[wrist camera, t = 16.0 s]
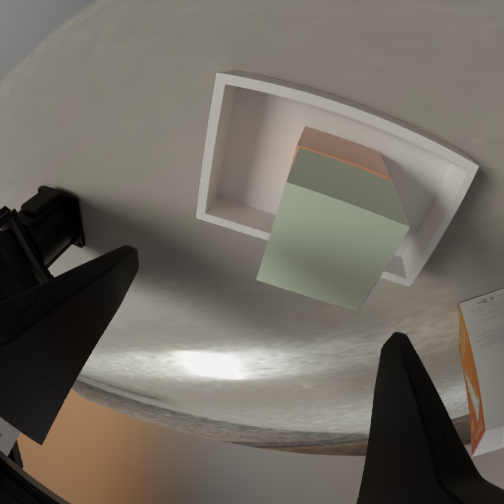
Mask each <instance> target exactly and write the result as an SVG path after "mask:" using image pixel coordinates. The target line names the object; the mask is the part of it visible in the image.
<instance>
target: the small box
mask: <svg viewBox="0 0 504 504" xmlns="http://www.w3.org/2000/svg"><path fill="white" fill-rule="evenodd" d="M459 310H460V346H459V351H460V356H461V361H462V366H463V372H464V377H465V384H466V390H467V398H468V406H469V416H470V427H471V443H472V457H473V456H477V455H481V454H484V453H487V452H491V451H494V450H497V449H500V448H503V447H504V288H503V289H500V290H497V291H494V292H491V293H489V294H486V295H482V296H479V297H476V298H474V299H471V300H468V301H465V302H461V303H459Z"/></svg>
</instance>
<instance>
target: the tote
mask: <svg viewBox="0 0 504 504" xmlns="http://www.w3.org/2000/svg"><path fill="white" fill-rule="evenodd" d="M305 126H307V127H310V128H313V129H316V130H319V131H323V132H326V133H329V134H332V135H335V136H338V137H340V138H343V139H346V140H349V141H352V142H355V143H357V144H360V145H363V146H365V147H368V148H371V149H373V150H376V151H378V152H380V154H381V157H382V159H383V161H384V163H385V166H386V168H387V170H388V173H389V175H390V177H391V179H390V181H392V182H393V184H394V187H395V189H396V192H397V194H398V197H399V199H400V202H401V204H402V207H403V210H404V212H405V215H406V218H407V221H408V223H409V226H410V228H409V230H408V231H407V233H406V235H405V237H404V238H403V240H402V242H401V244H400V245H399V247H398V249H397V251H396V252H395V254H394V256H393V257H392V259H391V261H390V262H389V264H388V266H387V267H386V269H385V270H384V272H383V274H382V275H381V278H384V279H387V280H390V281H393V282H396V283H399V284H402V285H405V286H408V287H410V286H411V285H412V283H413V282H414V280H415V279H416V277H417V276H418V274H419V273H420V271H421V270H422V268H423V267H424V265H425V264H426V262H427V260H428V259H429V257H430V256H431V254H432V253H433V251H434V249H435V248H436V246H437V244H438V243H439V241H440V239H441V238H442V236H443V234H444V233H445V231H446V229H447V228H448V226H449V224H450V222H451V220H452V219H453V217H454V215H455V213H456V211H457V210H458V208H459V206H460V204H461V202H462V200H463V198H464V196H465V194H466V192H467V190H468V188H469V186H470V184H471V182H472V180H473V178H474V176H475V174H476V172H477V170H478V168H479V166H478V165H477V164H476V163H475V162H474V161H473V160H472V159H471V158H470V157H468V156H467V155H466V154H465V153H464V152H463V151H462V150H460V149H458V148H456V147H454V146H452V145H451V144H449V143H447V142H445V141H443V140H441V139H439V138H437V137H435V136H433V135H431V134H429V133H427V132H425V131H423V130H421V129H419V128H416V127H414V126H412V125H410V124H408V123H405V122H403V121H401V120H398V119H396V118H394V117H391V116H389V115H387V114H384V113H382V112H379V111H377V110H374V109H371V108H369V107H366V106H364V105H361V104H358V103H355V102H352V101H350V100H347V99H344V98H341V97H338V96H335V95H332V94H329V93H325V92H322V91H319V90H315V89H312V88H309V87H305V86H301V85H298V84H294V83H290V82H286V81H282V80H278V79H274V78H270V77H265V76H261V75H256V74H251V73H246V72H241V71H235V70H231V71H224V72H217V75H216V81H215V86H214V92H213V98H212V104H211V110H210V116H209V123H208V129H207V136H206V143H205V150H204V157H203V164H202V172H201V180H200V188H199V197H198V205H197V214H196V218H197V219H200V220H203V221H207V222H210V223H213V224H216V225H220V226H223V227H226V228H229V229H232V230H236V231H239V232H242V233H245V234H248V235H252V236H255V237H258V238H261V239H264V240H267V241H268V240H269V236H270V233H271V230H272V226H273V223H274V220H275V217H276V213H277V210H278V207H279V203H280V200H281V197H282V193H283V190H284V187H285V183H286V180H287V178H288V174H289V171H290V167H291V164H292V160H293V157H294V153H295V150H296V146H297V143H298V141H299V139H300V136H301V134H302V132H303V129H304V127H305Z"/></svg>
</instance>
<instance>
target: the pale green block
mask: <svg viewBox="0 0 504 504" xmlns="http://www.w3.org/2000/svg"><path fill="white" fill-rule="evenodd" d="M409 228H410V226H409V223H408V221H407V218H406V215H405V212H404V210H403V207H402V204H401V202H400V199H399V197H398V194H397V192H396V189H395V187H394V184H393V182H392V181H390V180H388V179H386V178H383V177H381V176H378V175H376V174H373V173H371V172H368V171H366V170H363V169H360V168H358V167H355V166H352V165H350V164H347V163H344V162H342V161H339V160H336V159H333V158H330V157H327V156H325V155H322V154H319V153H316V152H313V151H310V150H307V149H303V148H300V147H299V150H298V152H297V155H296V157H295V160H294V162H293V165H292V168H291V170H290V173H289V175H288V178H287V180H286V183H285V187H284V190H283V193H282V197H281V200H280V203H279V207H278V210H277V213H276V217H275V220H274V223H273V226H272V230H271V233H270V236H269V240H268V243H267V246H266V249H265V253H264V256H263V259H262V262H261V266H260V269H259V272H258V275H257V279H256V280H258V281H261V282H264V283H267V284H270V285H273V286H277V287H280V288H283V289H286V290H289V291H292V292H295V293H298V294H301V295H304V296H307V297H310V298H314V299H317V300H320V301H323V302H326V303H329V304H332V305H336V306H339V307H342V308H345V309H348V310H352V311H355V312H358V310H359V309H360V307H361V306H362V304H363V303H364V301H365V300H366V298H367V297H368V295H369V294H370V292H371V291H372V289H373V288H374V286H375V285H376V283H377V282H378V280H379V278H380V277H381V275H382V274H383V272H384V270H385V269H386V267H387V266H388V264H389V262H390V261H391V259H392V257H393V256H394V254H395V252H396V251H397V249H398V247H399V245H400V244H401V242H402V240H403V238H404V237H405V235H406V233H407V231H408V230H409Z"/></svg>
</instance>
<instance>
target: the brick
mask: <svg viewBox="0 0 504 504" xmlns="http://www.w3.org/2000/svg"><path fill="white" fill-rule="evenodd" d="M299 147H300V148H303V149H307V150H310V151H313V152H316V153H319V154H322V155H325V156H327V157H330V158H333V159H336V160H339V161H342V162H344V163H347V164H350V165H352V166H355V167H358V168H360V169H363V170H366V171H368V172H371V173H373V174H376V175H378V176H381V177H383V178H386V179H388V180H390V179H391V177H390V175H389V173H388V170H387V168H386V166H385V163H384V161H383V159H382V157H381V154H380V152H378V151H376V150H373V149H371V148H368V147H365V146H363V145H360V144H357V143H355V142H352V141H349V140H346V139H343V138H340V137H338V136H335V135H332V134H329V133H326V132H323V131H319V130H316V129H313V128H310V127H307V126H305V127H304V129H303V132H302V134H301V136H300V139H299V141H298V143H297V146H296V150H295V153H294V157H293V160H292V164H291V167H290V170H291V168H292V165H293V162H294V160H295V157H296V155H297V152H298V150H299ZM289 173H290V171H289ZM288 175H289V174H288Z"/></svg>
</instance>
